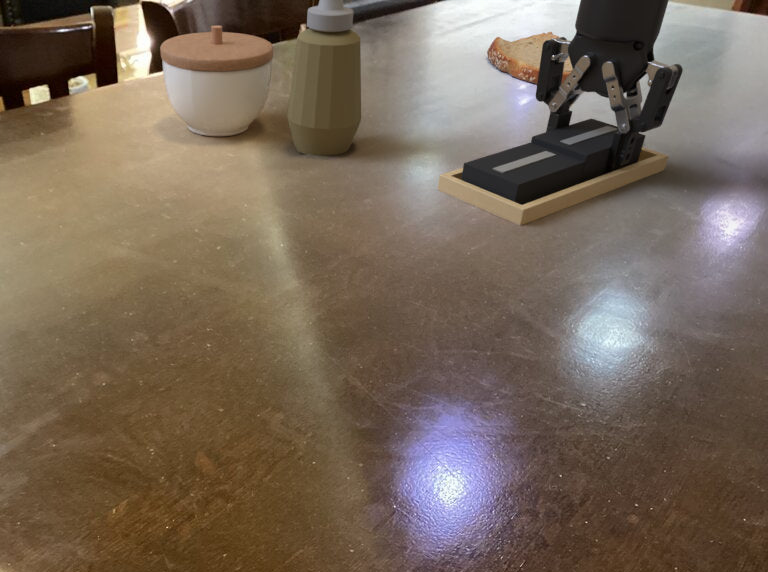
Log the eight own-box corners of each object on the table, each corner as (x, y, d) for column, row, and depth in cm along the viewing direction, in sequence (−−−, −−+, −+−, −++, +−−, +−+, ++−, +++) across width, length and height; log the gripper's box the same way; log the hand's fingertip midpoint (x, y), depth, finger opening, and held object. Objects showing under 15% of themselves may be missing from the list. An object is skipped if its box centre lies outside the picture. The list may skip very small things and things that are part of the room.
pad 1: (524, 170, 84) (530, 141, 82) (577, 190, 80) (585, 160, 78) (458, 192, 79) (463, 161, 78) (512, 215, 75) (518, 183, 73)
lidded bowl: (288, 118, 98) (291, 21, 92) (243, 151, 89) (243, 45, 83) (196, 104, 103) (193, 9, 96) (144, 134, 93) (137, 32, 87)
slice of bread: (590, 94, 108) (598, 65, 106) (461, 73, 116) (465, 45, 113) (619, 64, 120) (626, 37, 118) (501, 47, 128) (505, 21, 126)
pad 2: (584, 145, 89) (591, 117, 87) (637, 163, 85) (646, 134, 83) (525, 164, 84) (532, 135, 82) (579, 185, 80) (587, 154, 78)
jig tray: (580, 146, 92) (585, 128, 91) (663, 173, 85) (669, 155, 84) (436, 194, 80) (439, 174, 79) (519, 230, 74) (523, 209, 73)
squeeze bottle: (349, 167, 86) (364, -21, 75) (276, 157, 88) (281, -27, 77) (366, 142, 92) (382, -35, 82) (297, 133, 94) (304, -40, 84)
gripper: (727, -12, 71) (668, 170, 81) (586, -36, 81) (548, 131, 90) (680, -3, 68) (624, 187, 77) (538, -29, 77) (504, 144, 87)
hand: (583, 156), depth 84 cm, fingers closed on pad 2, 6 cm apart
